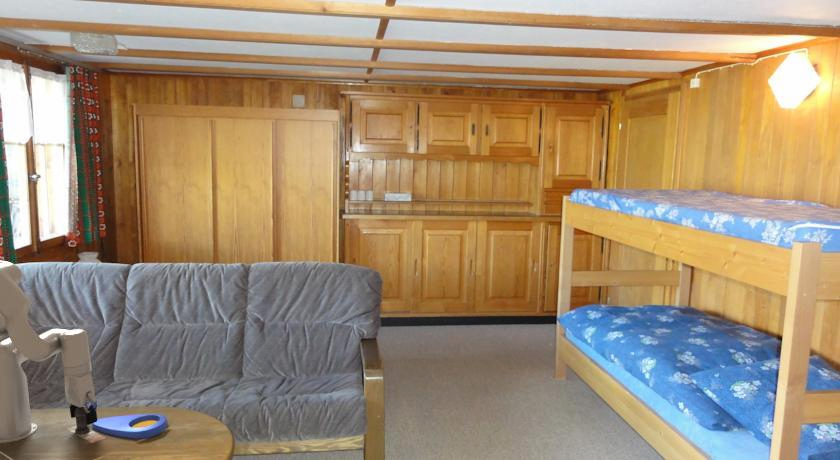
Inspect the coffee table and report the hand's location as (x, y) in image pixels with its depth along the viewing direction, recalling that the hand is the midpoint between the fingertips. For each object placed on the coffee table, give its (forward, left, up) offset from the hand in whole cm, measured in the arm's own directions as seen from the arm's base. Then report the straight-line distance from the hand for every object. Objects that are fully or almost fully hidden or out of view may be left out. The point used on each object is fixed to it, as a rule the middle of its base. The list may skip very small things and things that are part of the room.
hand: (84, 419), depth 191 cm
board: (+1, -1, -5) cm, 5 cm away
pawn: (-1, -1, -4) cm, 4 cm away
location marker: (+9, +9, -5) cm, 14 cm away
